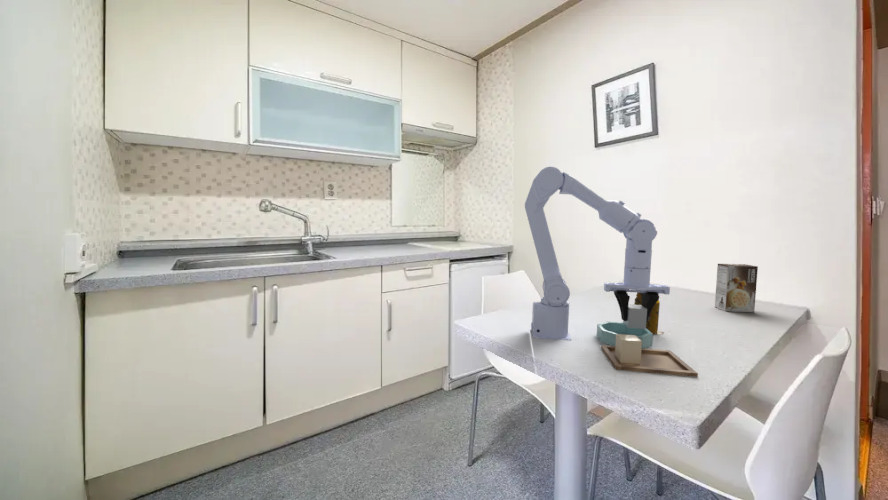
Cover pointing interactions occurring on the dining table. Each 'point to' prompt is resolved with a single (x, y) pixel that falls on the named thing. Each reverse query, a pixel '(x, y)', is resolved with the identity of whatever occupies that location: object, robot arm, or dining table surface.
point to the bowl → (610, 329)
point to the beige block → (628, 348)
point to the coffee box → (736, 287)
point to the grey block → (636, 317)
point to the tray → (652, 362)
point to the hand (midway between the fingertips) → (634, 320)
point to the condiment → (651, 315)
